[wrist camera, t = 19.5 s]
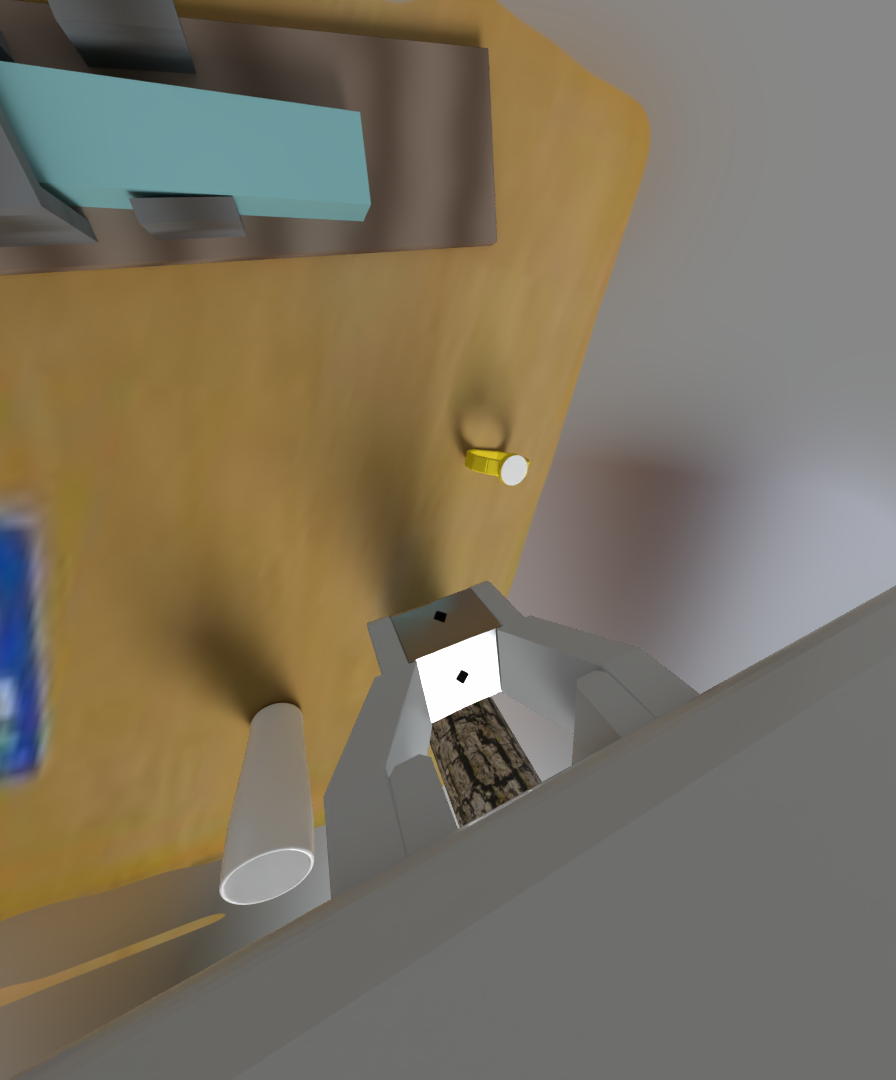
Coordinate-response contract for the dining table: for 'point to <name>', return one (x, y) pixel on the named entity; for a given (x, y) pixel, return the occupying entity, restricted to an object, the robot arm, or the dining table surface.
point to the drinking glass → (270, 811)
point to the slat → (184, 145)
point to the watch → (498, 464)
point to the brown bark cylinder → (479, 760)
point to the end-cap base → (272, 73)
